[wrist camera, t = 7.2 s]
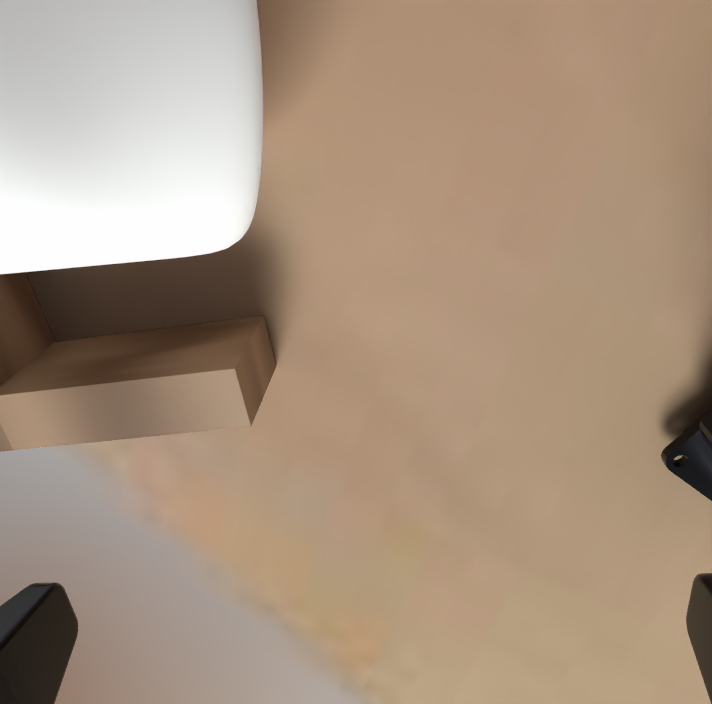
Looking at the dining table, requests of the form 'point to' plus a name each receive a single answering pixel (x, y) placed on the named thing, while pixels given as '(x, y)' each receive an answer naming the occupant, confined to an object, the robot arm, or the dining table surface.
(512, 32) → the dining table surface
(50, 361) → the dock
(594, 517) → the dining table surface
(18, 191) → the mug
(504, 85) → the dining table surface
